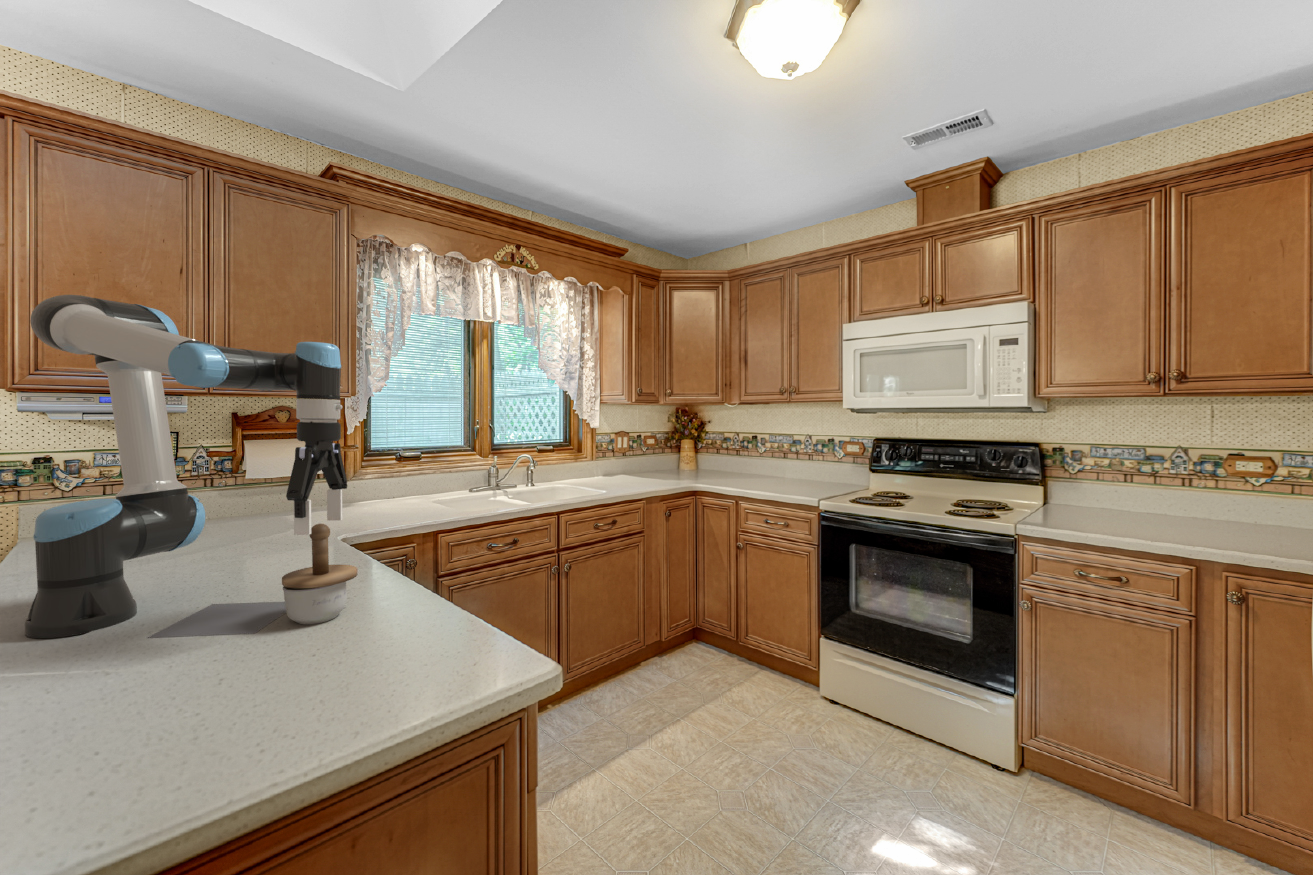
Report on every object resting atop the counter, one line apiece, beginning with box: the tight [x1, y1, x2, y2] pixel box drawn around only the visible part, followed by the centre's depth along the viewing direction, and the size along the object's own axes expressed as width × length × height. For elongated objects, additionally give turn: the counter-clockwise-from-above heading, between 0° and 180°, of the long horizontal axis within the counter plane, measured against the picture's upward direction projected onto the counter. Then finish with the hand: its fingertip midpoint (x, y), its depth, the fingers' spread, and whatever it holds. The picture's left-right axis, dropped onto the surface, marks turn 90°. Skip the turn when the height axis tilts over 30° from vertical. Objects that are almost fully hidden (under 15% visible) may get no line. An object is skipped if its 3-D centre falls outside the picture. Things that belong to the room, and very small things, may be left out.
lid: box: [281, 523, 359, 588], centre depth 112 cm, size 13×13×11 cm
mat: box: [146, 601, 287, 639], centre depth 111 cm, size 18×18×1 cm
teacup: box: [282, 581, 348, 625], centre depth 113 cm, size 14×11×8 cm
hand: (319, 526), depth 112 cm, fingers open, 13 cm apart
